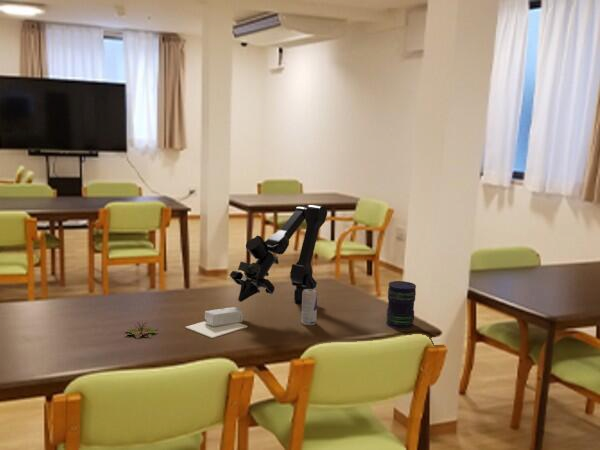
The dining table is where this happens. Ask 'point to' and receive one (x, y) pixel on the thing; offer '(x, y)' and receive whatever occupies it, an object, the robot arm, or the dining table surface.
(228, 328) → the mat
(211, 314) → the skincare box
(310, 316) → the energy drink
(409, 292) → the storage jar
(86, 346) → the dining table surface
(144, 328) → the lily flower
